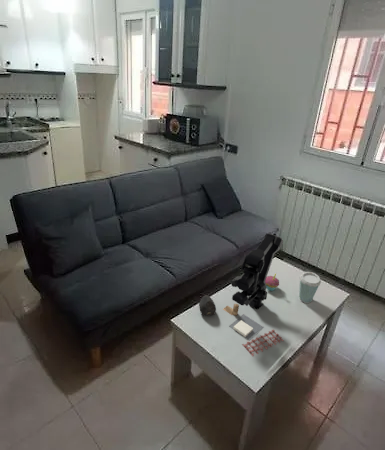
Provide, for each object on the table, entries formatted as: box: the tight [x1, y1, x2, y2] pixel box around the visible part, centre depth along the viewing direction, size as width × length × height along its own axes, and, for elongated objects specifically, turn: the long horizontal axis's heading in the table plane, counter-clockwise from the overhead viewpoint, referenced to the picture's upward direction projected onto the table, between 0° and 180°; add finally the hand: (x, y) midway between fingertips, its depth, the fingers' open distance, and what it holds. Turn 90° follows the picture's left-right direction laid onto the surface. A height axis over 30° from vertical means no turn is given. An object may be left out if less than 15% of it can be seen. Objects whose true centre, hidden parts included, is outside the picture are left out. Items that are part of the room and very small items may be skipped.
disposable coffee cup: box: [298, 271, 322, 304], centre depth 165 cm, size 11×11×15 cm
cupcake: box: [265, 273, 280, 292], centre depth 172 cm, size 9×8×12 cm
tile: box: [232, 320, 253, 338], centre depth 145 cm, size 2×7×6 cm
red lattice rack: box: [241, 329, 284, 357], centre depth 139 cm, size 7×19×2 cm, turn 121°
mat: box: [228, 313, 265, 342], centre depth 147 cm, size 12×12×1 cm
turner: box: [222, 303, 240, 317], centre depth 154 cm, size 4×8×6 cm, turn 46°
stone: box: [198, 294, 217, 316], centre depth 152 cm, size 8×8×10 cm
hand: (246, 305), depth 146 cm, fingers closed
